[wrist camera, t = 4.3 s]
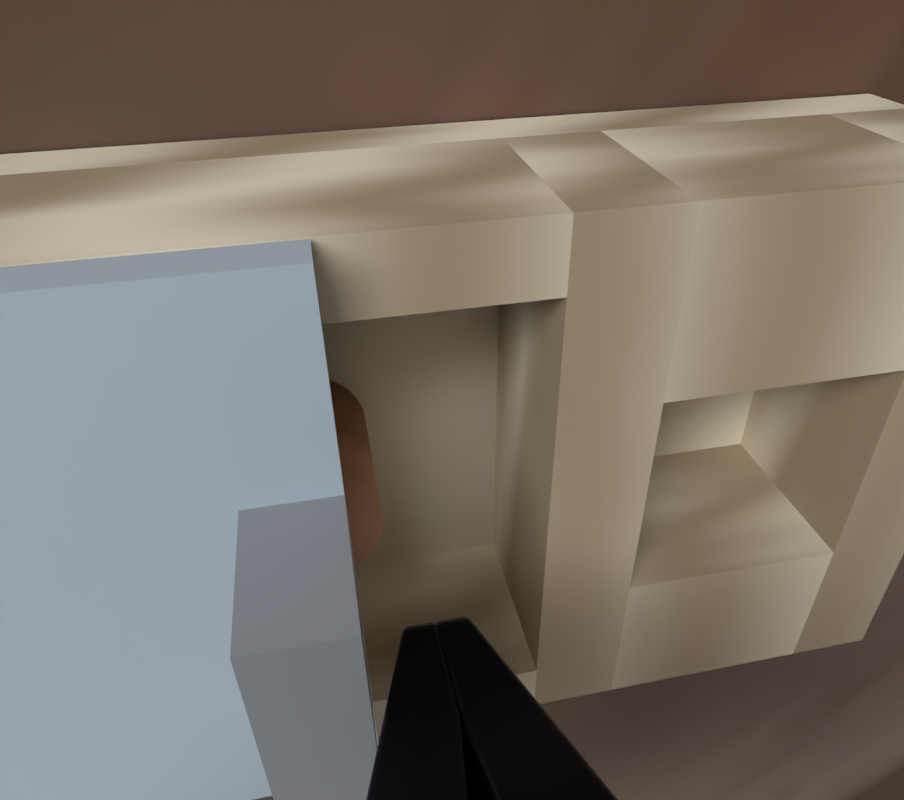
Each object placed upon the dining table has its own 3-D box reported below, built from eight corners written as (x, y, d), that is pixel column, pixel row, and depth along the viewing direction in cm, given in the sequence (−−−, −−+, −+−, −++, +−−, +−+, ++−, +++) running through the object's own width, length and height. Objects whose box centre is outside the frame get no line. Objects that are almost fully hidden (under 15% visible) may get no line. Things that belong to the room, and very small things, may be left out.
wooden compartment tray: (870, 93, 12) (1088, 166, 9) (751, 500, 17) (862, 639, 14) (-790, 209, 9) (-1431, 395, 5) (-319, 673, 14) (-500, 910, 10)
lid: (311, 239, 7) (325, 377, 5) (377, 738, 12) (399, 909, 10) (-505, 314, 6) (-901, 525, 4) (-62, 826, 11) (-138, 1036, 9)
